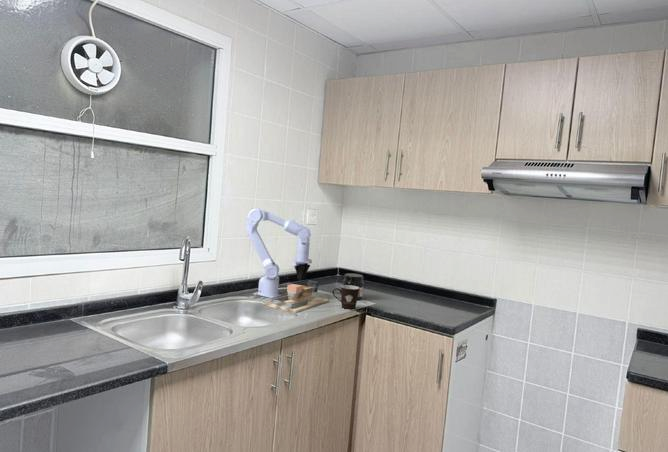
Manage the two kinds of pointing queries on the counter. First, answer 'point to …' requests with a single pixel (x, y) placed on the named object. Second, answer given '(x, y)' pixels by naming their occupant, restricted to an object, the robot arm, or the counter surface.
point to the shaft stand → (297, 301)
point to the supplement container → (355, 282)
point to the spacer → (294, 288)
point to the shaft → (310, 284)
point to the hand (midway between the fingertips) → (301, 278)
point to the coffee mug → (348, 296)
